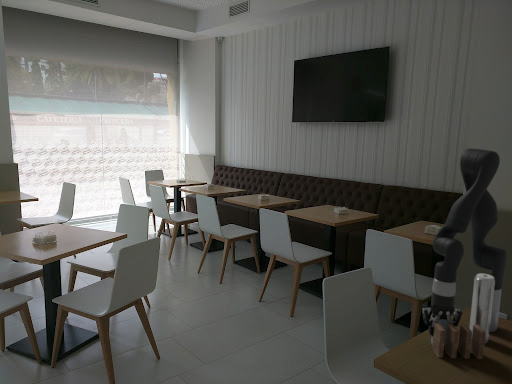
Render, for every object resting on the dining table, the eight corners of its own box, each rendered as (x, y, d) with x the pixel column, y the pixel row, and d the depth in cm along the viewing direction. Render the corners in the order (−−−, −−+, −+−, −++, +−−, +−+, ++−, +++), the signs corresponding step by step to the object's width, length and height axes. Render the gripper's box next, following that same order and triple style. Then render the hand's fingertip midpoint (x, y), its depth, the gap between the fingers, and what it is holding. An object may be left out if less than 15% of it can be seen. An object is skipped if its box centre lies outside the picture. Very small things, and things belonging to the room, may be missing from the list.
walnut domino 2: (451, 358, 135) (454, 330, 133) (445, 350, 140) (447, 323, 138) (456, 358, 135) (458, 331, 133) (449, 350, 140) (452, 324, 138)
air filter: (488, 337, 149) (495, 274, 146) (488, 345, 144) (495, 280, 140) (468, 332, 152) (475, 271, 149) (468, 340, 147) (474, 276, 143)
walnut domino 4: (478, 359, 135) (481, 331, 133) (470, 351, 140) (473, 324, 138) (482, 359, 135) (485, 332, 133) (475, 351, 140) (478, 324, 138)
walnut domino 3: (464, 358, 135) (467, 331, 133) (457, 350, 140) (460, 324, 138) (469, 358, 135) (472, 331, 133) (462, 350, 140) (465, 324, 138)
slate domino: (430, 342, 145) (433, 317, 143) (444, 343, 144) (447, 317, 143) (432, 345, 143) (435, 319, 142) (446, 345, 143) (449, 319, 141)
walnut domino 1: (438, 357, 135) (440, 330, 134) (432, 349, 140) (434, 323, 138) (442, 357, 135) (445, 330, 134) (436, 349, 140) (439, 323, 138)
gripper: (427, 295, 137) (423, 340, 140) (469, 296, 137) (464, 341, 139) (419, 286, 145) (415, 330, 147) (459, 288, 144) (454, 331, 147)
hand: (439, 335), depth 143 cm, fingers closed on slate domino, 5 cm apart
